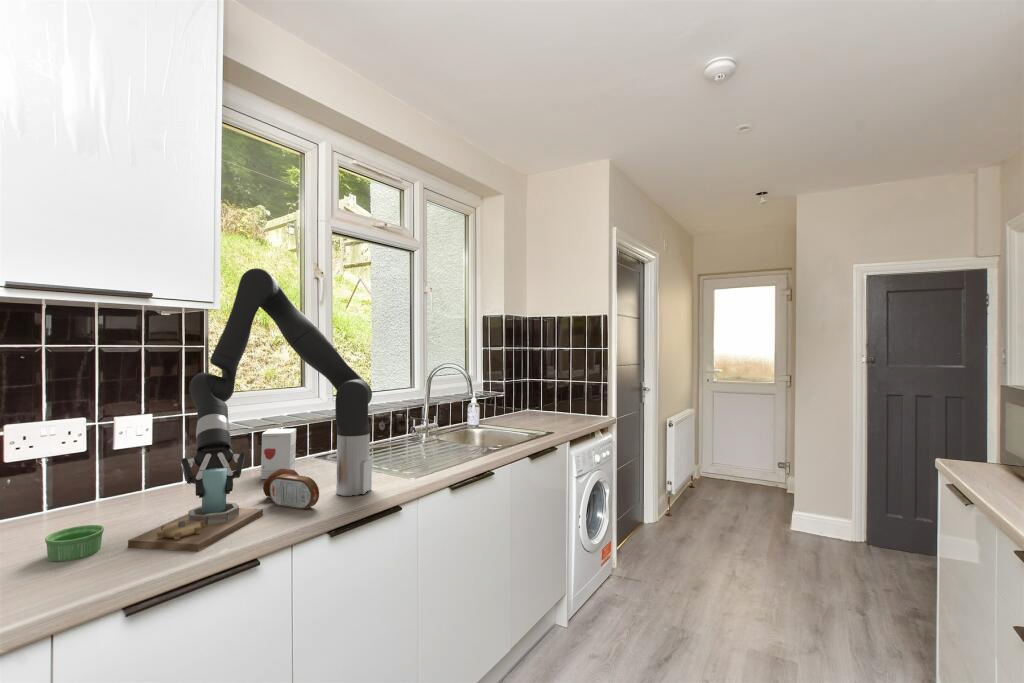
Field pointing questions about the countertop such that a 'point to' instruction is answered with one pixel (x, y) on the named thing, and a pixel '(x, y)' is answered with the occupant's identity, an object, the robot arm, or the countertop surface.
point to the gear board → (196, 529)
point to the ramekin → (74, 542)
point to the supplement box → (277, 451)
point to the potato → (272, 476)
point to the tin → (294, 491)
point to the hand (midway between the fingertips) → (214, 494)
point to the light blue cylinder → (214, 490)
